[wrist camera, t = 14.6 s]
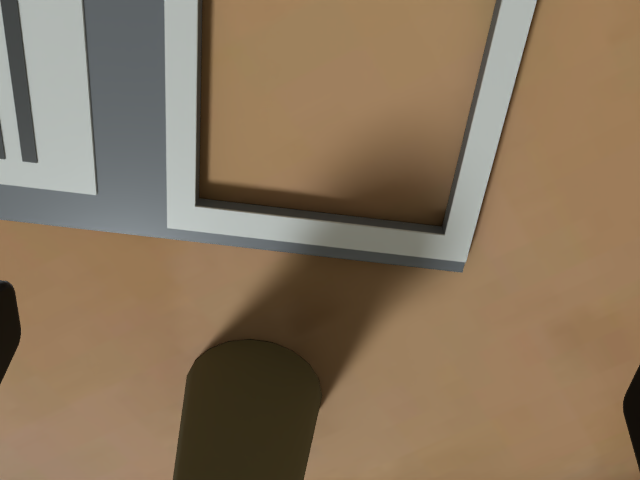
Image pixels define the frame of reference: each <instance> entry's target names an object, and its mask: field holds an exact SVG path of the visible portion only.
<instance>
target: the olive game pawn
mask: <svg viewBox="0 0 640 480" xmlns="http://www.w3.org/2000/svg"><path fill="white" fill-rule="evenodd" d="M321 398H322V393H321V387H320V382H319V379H318V377H317V376H316V374H315V373H314V371H313V369H312V368H311V366H310V365H309V364H308V363H307V362H306V361H305V360H303V359H302V358H301V357H300V356H298V355H297V354H296V353H295V352H293V351H291V350H289V349H286V348H284V347H282V346H279V345H277V344H274V343H271V342H264V341H257V340H251V339H250V340H240V341H230V342H226V343H224V344H221V345H219V346H216V347H213V348H211V349H209V350H208V351H206V352H205V353H204V354H203V355H202V356H200V357H199V358H198V359H197V360H196V361H195V362H194V364H193V366H192V367H191V369H190V371H189V373H188V375H187V379H186V387H185V394H184V401H183V409H182V416H181V423H180V431H179V438H178V445H177V453H176V460H175V468H174V475H173V480H304V475H305V471H306V466H307V462H308V457H309V453H310V448H311V443H312V439H313V434H314V430H315V425H316V421H317V416H318V412H319V407H320V403H321Z"/></svg>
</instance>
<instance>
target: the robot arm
mask: <svg viewBox="0 0 640 480" xmlns="http://www.w3.org/2000/svg"><path fill="white" fill-rule="evenodd" d="M20 336H21V326H20V320H19V313H18V307H17V301H16V295H15V290H14V288H13V286H12V284H11V283H9V282H8V281H1V280H0V384H1V382H2V379H3V377H4V375H5V373H6V371H7V369H8V366H9V364H10V362H11V360H12V358H13V356H14V354H15V351H16V349H17V347H18V344H19V341H20ZM623 412H624V417H625V420H626V424H627V427H628V431H629V435H630V438H631V442H632V445H633V449H634V453H635V456H636V460H637V464H638V467H639V471H640V365H639V367H638V369H637V371H636V373H635V375H634V378H633V380H632V382H631V384H630V386H629V388H628V390H627V392H626V394H625V397H624V401H623Z"/></svg>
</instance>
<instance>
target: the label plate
mask: <svg viewBox="0 0 640 480" xmlns="http://www.w3.org/2000/svg"><path fill="white" fill-rule="evenodd" d="M536 2H537V0H496V4H495V8H494V12H493V16H492V21H491V25H490V29H489V33H488V37H487V41H486V46H485V50H484V54H483V58H482V62H481V66H480V71H479V75H478V79H477V83H476V87H475V91H474V96H473V100H472V104H471V108H470V112H469V116H468V121H467V125H466V129H465V133H464V137H463V141H462V145H461V150H460V154H459V158H458V162H457V166H456V170H455V175H454V179H453V183H452V187H451V191H450V195H449V200H448V204H447V208H446V212H445V216H444V220H443V225H442V227H441V226H432V225H424V224H415V223H406V222H398V221H389V220H381V219H372V218H363V217H355V216H346V215H338V214H329V213H321V212H312V211H303V210H295V209H286V208H278V207H269V206H260V205H252V204H243V203H235V202H226V201H218V200H209V199H200V198H199V172H200V110H201V48H202V0H0V219H1V220H9V221H18V222H27V223H35V224H44V225H53V226H62V227H70V228H79V229H88V230H96V231H105V232H114V233H123V234H131V235H140V236H149V237H158V238H166V239H175V240H184V241H192V242H201V243H210V244H219V245H227V246H236V247H245V248H253V249H262V250H271V251H280V252H288V253H297V254H306V255H315V256H323V257H332V258H341V259H349V260H358V261H367V262H376V263H384V264H393V265H402V266H410V267H419V268H428V269H437V270H445V271H454V272H463V268H464V264H465V262H466V260H467V256H468V253H469V249H470V245H471V242H472V238H473V234H474V231H475V227H476V223H477V219H478V216H479V212H480V208H481V205H482V201H483V197H484V194H485V190H486V186H487V183H488V179H489V175H490V172H491V168H492V164H493V160H494V157H495V153H496V149H497V146H498V142H499V138H500V135H501V131H502V127H503V124H504V120H505V116H506V113H507V109H508V105H509V101H510V98H511V94H512V90H513V87H514V83H515V79H516V76H517V72H518V68H519V65H520V61H521V57H522V54H523V50H524V46H525V42H526V39H527V35H528V31H529V28H530V24H531V20H532V17H533V13H534V9H535V6H536Z"/></svg>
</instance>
